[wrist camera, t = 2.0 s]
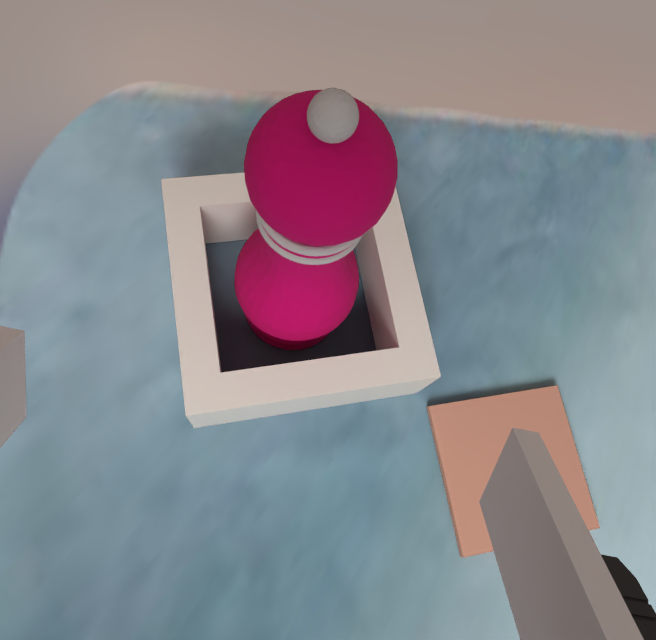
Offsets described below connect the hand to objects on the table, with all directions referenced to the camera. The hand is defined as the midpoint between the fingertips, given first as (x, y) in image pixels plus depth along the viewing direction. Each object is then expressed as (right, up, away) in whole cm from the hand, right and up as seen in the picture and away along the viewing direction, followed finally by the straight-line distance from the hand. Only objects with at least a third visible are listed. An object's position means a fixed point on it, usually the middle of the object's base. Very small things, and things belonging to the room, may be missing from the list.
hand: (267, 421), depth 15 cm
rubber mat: (+13, -7, +20) cm, 25 cm away
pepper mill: (-1, +4, +22) cm, 22 cm away
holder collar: (-1, +4, +22) cm, 22 cm away
